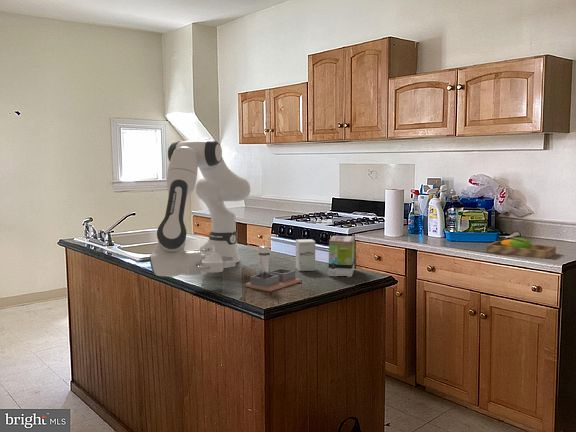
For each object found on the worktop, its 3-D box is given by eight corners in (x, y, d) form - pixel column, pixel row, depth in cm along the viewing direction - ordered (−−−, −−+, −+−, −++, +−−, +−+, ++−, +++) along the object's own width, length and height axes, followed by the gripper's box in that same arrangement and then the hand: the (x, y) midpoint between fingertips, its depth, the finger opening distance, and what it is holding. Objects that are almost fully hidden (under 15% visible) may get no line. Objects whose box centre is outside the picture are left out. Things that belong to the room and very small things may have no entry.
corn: (525, 240, 254) (495, 234, 273) (523, 256, 255) (494, 249, 273) (537, 240, 257) (507, 234, 275) (535, 256, 257) (505, 249, 276)
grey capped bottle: (256, 283, 201) (256, 246, 200) (264, 281, 204) (263, 245, 203) (265, 285, 199) (264, 248, 197) (272, 283, 202) (271, 246, 200)
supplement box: (298, 271, 227) (298, 242, 225) (295, 268, 234) (295, 239, 233) (315, 270, 228) (315, 241, 227) (312, 267, 235) (312, 238, 234)
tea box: (352, 277, 216) (353, 241, 214) (327, 276, 217) (327, 240, 216) (354, 269, 230) (355, 235, 229) (331, 268, 232) (331, 234, 230)
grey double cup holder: (245, 286, 202) (245, 275, 202) (276, 277, 216) (276, 267, 216) (269, 291, 195) (269, 280, 194) (300, 282, 209) (300, 271, 208)
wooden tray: (486, 252, 267) (486, 245, 266) (496, 247, 278) (496, 241, 278) (547, 258, 249) (547, 251, 249) (555, 253, 261) (555, 246, 260)
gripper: (196, 259, 185) (236, 257, 188) (195, 249, 205) (231, 248, 208) (197, 277, 186) (237, 275, 188) (195, 265, 206) (231, 264, 208)
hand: (234, 261), depth 198 cm, fingers open, 8 cm apart
